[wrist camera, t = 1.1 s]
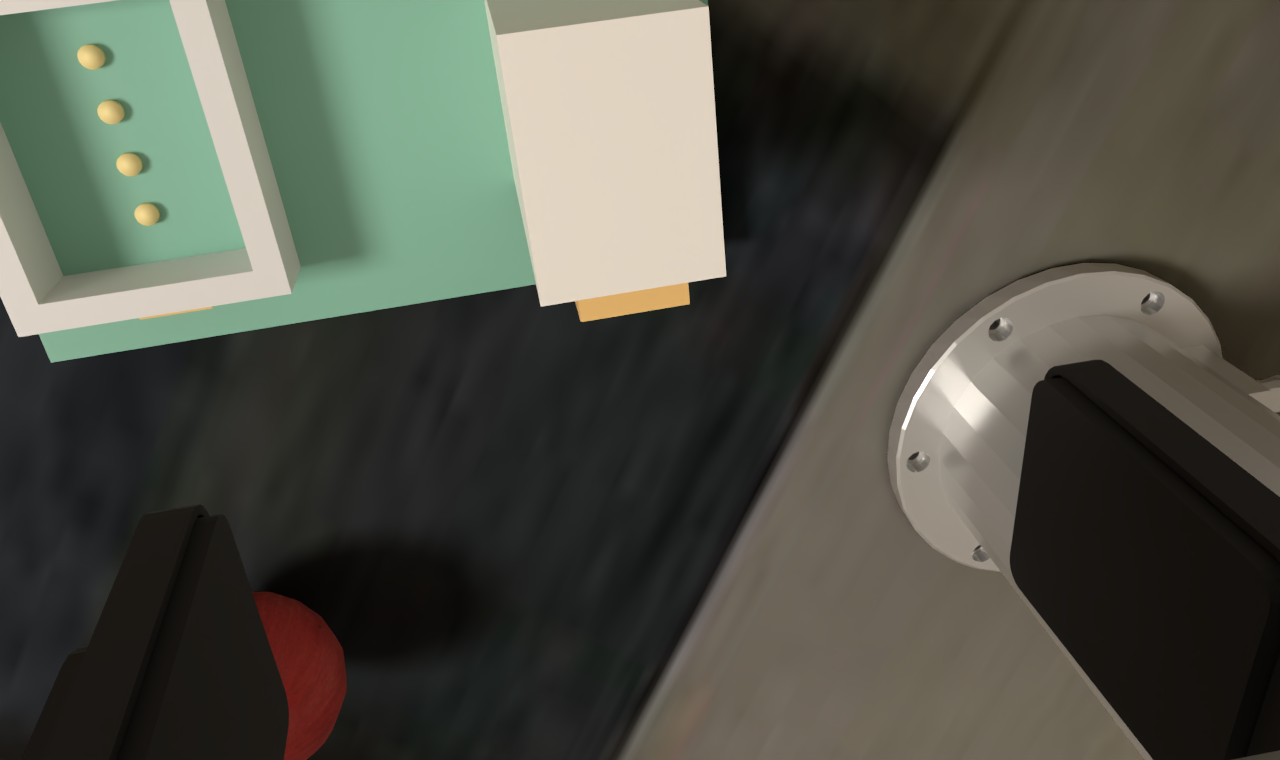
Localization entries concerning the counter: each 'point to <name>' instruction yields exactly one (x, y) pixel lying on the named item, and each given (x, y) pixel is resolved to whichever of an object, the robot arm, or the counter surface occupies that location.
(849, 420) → the counter surface
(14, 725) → the counter surface
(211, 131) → the board
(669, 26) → the plug
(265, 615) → the onion
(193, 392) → the counter surface
